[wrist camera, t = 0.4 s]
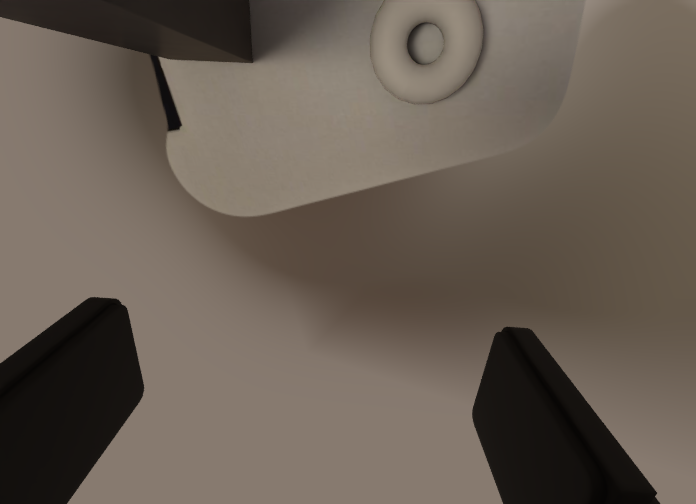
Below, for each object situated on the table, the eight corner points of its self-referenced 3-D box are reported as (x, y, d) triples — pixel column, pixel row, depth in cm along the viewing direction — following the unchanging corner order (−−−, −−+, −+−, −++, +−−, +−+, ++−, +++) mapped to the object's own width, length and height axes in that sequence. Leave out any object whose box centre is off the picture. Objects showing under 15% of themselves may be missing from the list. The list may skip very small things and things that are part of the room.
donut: (488, -10, 31) (377, -27, 30) (504, -23, 28) (381, -43, 27) (460, 111, 35) (361, 97, 34) (471, 111, 31) (362, 96, 31)
